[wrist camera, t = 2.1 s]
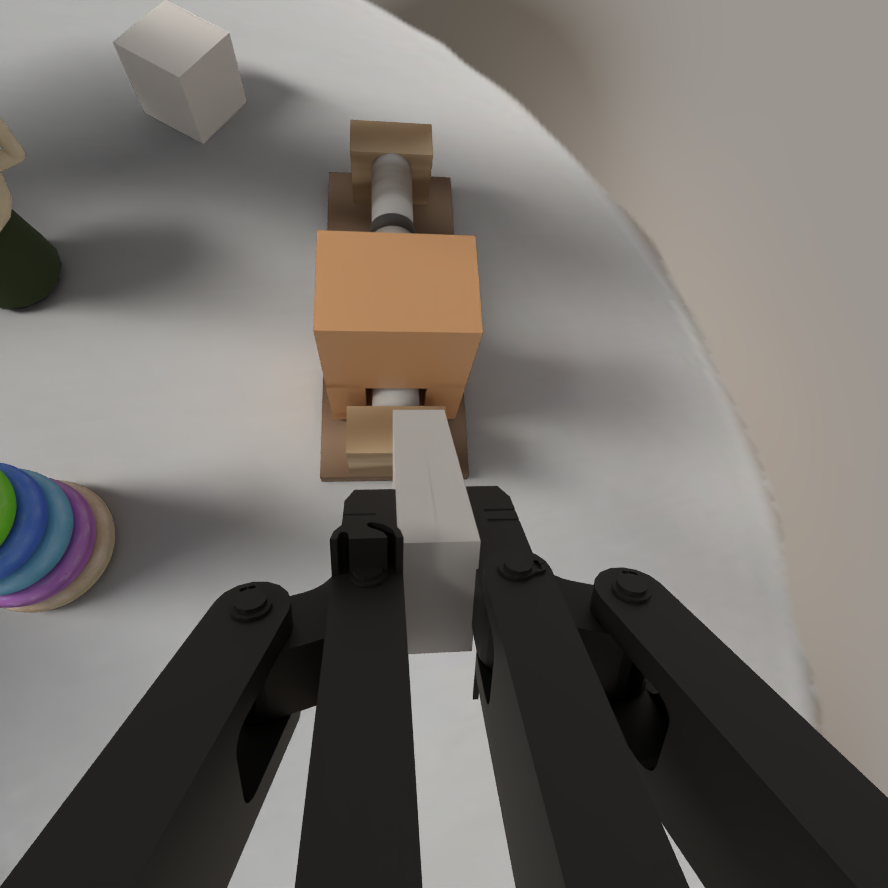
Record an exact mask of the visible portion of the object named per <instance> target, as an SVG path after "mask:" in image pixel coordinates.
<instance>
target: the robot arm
mask: <svg viewBox="0 0 888 888" xmlns="http://www.w3.org/2000/svg"><path fill="white" fill-rule="evenodd" d="M330 551H331V569H332V577H331V578H330V579H329V580H328V581H326V582H325V583H324V584H323V585H321V586H319V587H317V588H315V589H313V590H310V591H307V592H304V593H300V594H297V595H293V596H289V594H288V592H287V591H286V590H285V589H284V588H282V587H281V586H280V585H277V584H273V583H270V582H251V583H247V584H243V585H239V586H236V587H234V588H232V589H230V590H229V591H227V592H225V593H224V594H222V595H221V596H220V597H219V598H218V599H217V600H216V601H215V602H214V603H213V605H212V606H211V607H210V609H209V610H208V611H207V613H206V614H205V615H204V617H203V618H202V619H201V621H200V622H199V623H198V625H197V626H196V627H195V629H194V630H193V631H192V633H191V634H190V635H189V637H188V638H187V639H186V641H185V642H184V643H183V645H182V646H181V647H180V649H179V650H178V651H177V653H176V654H175V655H174V657H173V658H172V659H171V661H170V662H169V663H168V664H167V666H166V667H165V668H164V670H163V671H162V672H161V674H160V675H159V676H158V678H157V679H156V680H155V682H154V683H153V684H152V686H151V687H150V688H149V690H148V691H147V692H146V694H145V695H144V696H143V698H142V699H141V700H140V702H139V703H138V704H137V706H136V707H135V708H134V710H133V711H132V712H131V714H130V715H129V716H128V718H127V719H126V720H125V722H124V723H123V724H122V726H121V727H120V728H119V730H118V731H117V732H116V734H115V735H114V736H113V738H112V739H111V740H110V742H109V743H108V744H107V746H106V747H105V748H104V750H103V751H102V752H101V754H100V755H99V756H98V758H97V759H96V760H95V761H94V763H93V764H92V765H91V767H90V768H89V769H88V771H87V772H86V773H85V775H84V776H83V777H82V779H81V780H80V781H79V783H78V784H77V785H76V787H75V788H74V789H73V791H72V792H71V793H70V795H69V796H68V797H67V799H66V800H65V801H64V803H63V804H62V805H61V807H60V808H59V809H58V811H57V812H56V813H55V815H54V816H53V817H52V819H51V820H50V821H49V823H48V824H47V825H46V827H45V828H44V829H43V831H42V832H41V833H40V835H39V836H38V837H37V839H36V840H35V841H34V843H33V844H32V845H31V847H30V848H29V849H28V851H27V852H26V853H25V854H24V856H23V857H22V858H21V860H20V861H19V862H18V864H17V865H16V866H15V868H14V869H13V870H12V872H11V873H10V874H9V876H8V877H7V878H6V880H5V881H4V882H3V884H2V885H1V886H0V888H227V886H228V884H229V882H230V879H231V877H232V875H233V872H234V870H235V868H236V865H237V863H238V861H239V858H240V856H241V854H242V851H243V849H244V847H245V844H246V842H247V840H248V837H249V835H250V833H251V830H252V828H253V826H254V823H255V821H256V819H257V816H258V814H259V812H260V809H261V807H262V805H263V802H264V800H265V798H266V795H267V793H268V791H269V788H270V786H271V784H272V781H273V779H274V777H275V774H276V772H277V770H278V767H279V765H280V763H281V760H282V758H283V756H284V753H285V751H286V749H287V746H288V744H289V742H290V739H291V737H292V735H293V732H294V730H295V728H296V725H297V723H298V721H299V718H300V713H301V711H302V710H305V709H307V708H310V707H313V706H316V705H317V706H316V714H315V722H314V731H313V739H312V748H311V756H310V764H309V773H308V781H307V789H306V798H305V806H304V815H303V823H302V831H301V840H300V848H299V856H298V865H297V873H296V882H295V888H422V874H421V857H420V841H419V825H418V808H417V792H416V775H415V759H414V742H413V726H412V710H411V693H410V677H409V660H408V654H420V653H440V652H460V651H472V641H473V635H474V640H475V645H476V650H477V653H476V664H475V676H474V688H473V699H478V697H479V695H480V700H481V705H482V711H483V716H484V721H485V727H486V732H487V737H488V743H489V748H490V753H491V759H492V764H493V769H494V775H495V780H496V785H497V791H498V796H499V801H500V807H501V812H502V817H503V823H504V828H505V833H506V838H507V844H508V849H509V854H510V860H511V865H512V870H513V876H514V881H515V886H516V888H689V886H688V883H687V881H686V879H685V876H684V874H683V872H682V869H681V867H680V865H679V863H678V860H677V858H676V856H675V853H674V851H673V849H672V846H671V844H670V842H669V839H668V837H667V835H666V833H665V830H664V828H663V826H662V824H663V825H664V827H665V828H666V830H667V831H668V833H669V834H670V836H671V837H672V839H673V840H674V842H675V843H676V845H677V846H678V848H679V849H680V851H681V852H682V854H683V855H684V857H685V858H686V860H687V861H688V863H689V864H690V866H691V867H692V869H693V870H694V872H695V873H696V875H697V876H698V878H699V879H700V881H701V882H702V884H703V885H704V887H705V888H888V798H887V797H886V796H885V795H884V794H883V793H882V792H881V791H880V790H879V789H878V788H877V787H876V786H875V785H874V784H873V783H871V782H870V781H869V780H868V779H867V778H866V777H865V776H864V775H863V774H862V773H861V772H860V771H859V770H858V769H857V768H856V767H855V766H854V765H852V764H851V763H850V762H849V761H848V760H847V759H846V758H845V757H844V756H843V755H842V754H841V753H840V752H839V751H838V750H837V749H836V748H834V747H833V746H832V745H831V744H830V743H829V742H828V741H827V740H826V739H825V738H824V737H823V736H822V735H821V734H820V733H819V732H817V731H816V730H815V729H814V728H813V727H812V726H811V725H810V724H809V723H808V722H807V721H806V720H805V719H804V718H803V717H802V716H801V715H799V714H798V713H797V712H796V711H795V710H794V709H793V708H792V707H791V706H790V705H789V704H788V703H787V702H786V701H785V700H784V699H783V698H781V697H780V696H779V695H778V694H777V693H776V692H775V691H774V690H773V689H772V688H771V687H770V686H769V685H768V684H767V683H766V682H764V681H763V680H762V679H761V678H760V677H759V676H758V675H757V674H756V673H755V672H754V671H753V670H752V669H751V668H750V667H749V666H748V665H746V664H745V663H744V662H743V661H742V660H741V659H740V658H739V657H738V656H737V655H736V654H735V653H734V652H733V651H732V650H731V649H730V648H728V647H727V646H726V645H725V644H724V643H723V642H722V641H721V640H720V639H719V638H718V637H717V636H716V635H715V634H714V633H713V632H711V631H710V630H709V629H708V628H707V627H706V626H705V625H704V624H703V623H702V622H701V621H700V620H699V619H698V618H697V617H696V616H695V615H693V614H692V613H691V612H690V611H689V610H688V609H687V608H686V607H685V606H684V605H683V604H682V603H681V602H680V601H679V600H678V599H676V598H675V597H674V596H673V595H672V594H671V593H670V592H669V591H668V590H667V589H666V588H665V587H664V586H663V585H662V584H661V583H659V582H658V581H657V580H655V579H654V578H652V577H651V576H649V575H647V574H645V573H642V572H640V571H637V570H633V569H628V568H609V569H607V570H605V571H602V572H600V573H599V575H598V576H597V577H596V578H595V581H594V585H591V584H585V583H580V582H575V581H570V580H566V579H562V578H560V577H557V576H555V575H554V574H553V572H552V570H551V568H550V566H549V565H548V564H547V562H546V561H545V560H543V559H542V558H540V557H539V556H537V555H536V554H533V553H532V550H531V548H530V545H529V543H528V540H527V538H526V536H525V533H524V531H523V528H522V526H521V523H520V521H519V518H518V516H517V513H516V511H515V508H514V506H513V504H512V501H511V499H510V496H508V495H507V494H506V493H505V492H504V491H502V490H501V489H500V488H499V487H498V486H469V487H466V486H465V483H464V479H463V476H462V472H461V468H460V465H459V461H458V457H457V454H456V450H455V447H454V443H453V439H452V436H451V432H450V428H449V425H448V421H447V418H446V414H445V410H393V489H378V490H354V491H353V492H352V493H351V494H350V496H349V497H348V498H347V499H346V500H345V502H344V511H343V520H342V525H341V526H340V527H339V528H337V529H336V530H335V531H334V532H333V534H332V536H331V538H330ZM661 822H662V823H661Z"/></svg>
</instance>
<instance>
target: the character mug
mask: <svg viewBox="0 0 888 888" xmlns="http://www.w3.org/2000/svg"><path fill="white" fill-rule="evenodd" d="M0 146H1V147H2V148H3V149H2V150H0V308H3V309H7V308H18V307H27V306H29V305H31V304H33V303H35V302H37V301H39V300H41V299H43V298H45V297H47V295H48V294H49V293H50V291H51V290H52V289H53V287H54V286H55V285H56V283H57V282H58V280H59V274H60V269H61V261H60V259H59V256H58V253H57V250H56V248H55V247H54V246H52V245H51V244H50V243H49V242H48V241H47V240H46V239H45V238H44V237H43V236H42V235H41V234H40V233H39V232H38V231H36V230H35V229H34V228H33V227H32V226H31V225H30V224H28V223H27V222H26V221H25V220H24V219H23V218H22V217H20V216H19V215H18V214H17V213H16V212H15V211H14V210H12V201H13V200H12V197H11V194H10V192H9V189H8V186H7V184H6V181H5V179H4V176H3V174H2V173H1V172H2V171H4V170H6V169H9V168H11V167H13V166H15V165H18V164H20V163H21V162H22V161H23V160H24V159H25V152H24V149H23V148H22V146H21V145H20V143H19V142H18V141H17V139H16V138H15V137H14V135H13V134H12V132H11V131H10V130H9V128H8V127H7V126H6V124H5V123H4V121H3V120H2V119H1V118H0Z"/></svg>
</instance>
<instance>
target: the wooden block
mask: <svg viewBox="0 0 888 888" xmlns="http://www.w3.org/2000/svg"><path fill="white" fill-rule="evenodd" d="M313 331H314V335H315V340H316V344H317V349H318V353H319V358H320V362H321V367H322V371H323V376H324V380H325V385H326V389H327V394H328V398H329V403H330V407H331V412H332V416H333V419H346V418H347V406H372V388H419V406H446V418H447V419H455V417H456V414H457V411H458V408H459V405H460V402H461V399H462V396H463V393H464V390H465V386H466V383H467V380H468V377H469V374H470V371H471V368H472V365H473V362H474V359H475V356H476V353H477V350H478V346H479V343H480V340H481V337H482V334H483V328H482V315H481V302H480V289H479V276H478V264H477V251H476V238H475V236H470V235H441V234H412V233H383V232H354V231H325V230H317V246H316V273H315V300H314V327H313Z"/></svg>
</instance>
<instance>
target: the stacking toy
mask: <svg viewBox="0 0 888 888" xmlns="http://www.w3.org/2000/svg"><path fill="white" fill-rule="evenodd" d="M114 544H115V526H114V521H113V518H112V515H111V513H110V511H109V509H108V507H107V506H106V504H105V503H104V502H103V500H102V499H101V498H100V497H99V496H98V495H96V494H95V493H94V492H92V491H91V490H89V489H88V488H85V487H83V486H81V485H78V484H76V483H72V482H67V481H59V480H55V479H51V478H47V477H46V476H44V475H41V474H39V473H37V472H33V471H30V470H25V469H18V468H16V467H14V466H11V465H8V464H4V463H0V607H2V608H5V609H8V610H12V611H18V612H42V611H47V610H52V609H55V608H58V607H61V606H63V605H66V604H68V603H70V602H72V601H73V600H75V599H77V598H78V597H80V596H81V595H82V594H84V593H85V592H86V591H87V590H89V589H90V588H91V587H92V586H93V585H94V584H95V583H96V582H97V580H98V579H99V578H100V577H101V575H102V574H103V572H104V571H105V569H106V567H107V565H108V563H109V561H110V559H111V556H112V553H113V549H114Z"/></svg>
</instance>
